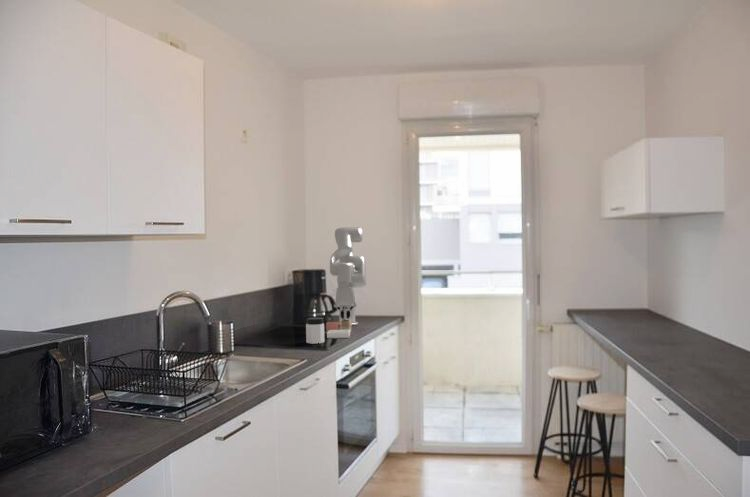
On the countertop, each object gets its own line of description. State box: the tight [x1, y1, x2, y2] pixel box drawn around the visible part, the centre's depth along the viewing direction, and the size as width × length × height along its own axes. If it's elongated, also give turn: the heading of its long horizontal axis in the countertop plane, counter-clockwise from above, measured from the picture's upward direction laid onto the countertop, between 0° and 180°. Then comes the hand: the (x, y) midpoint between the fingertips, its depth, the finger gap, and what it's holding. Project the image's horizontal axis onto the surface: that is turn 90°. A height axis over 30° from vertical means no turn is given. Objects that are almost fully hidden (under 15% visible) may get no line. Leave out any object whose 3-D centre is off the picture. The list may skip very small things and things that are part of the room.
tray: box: [326, 329, 351, 339], centre depth 315 cm, size 11×11×3 cm
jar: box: [305, 317, 325, 345], centre depth 297 cm, size 9×8×12 cm
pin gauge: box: [343, 306, 348, 321], centre depth 333 cm, size 3×3×12 cm
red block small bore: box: [325, 321, 339, 335], centre depth 326 cm, size 6×6×6 cm
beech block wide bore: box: [339, 319, 352, 333], centre depth 333 cm, size 6×6×6 cm
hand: (345, 318), depth 333 cm, fingers closed on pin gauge, 2 cm apart
